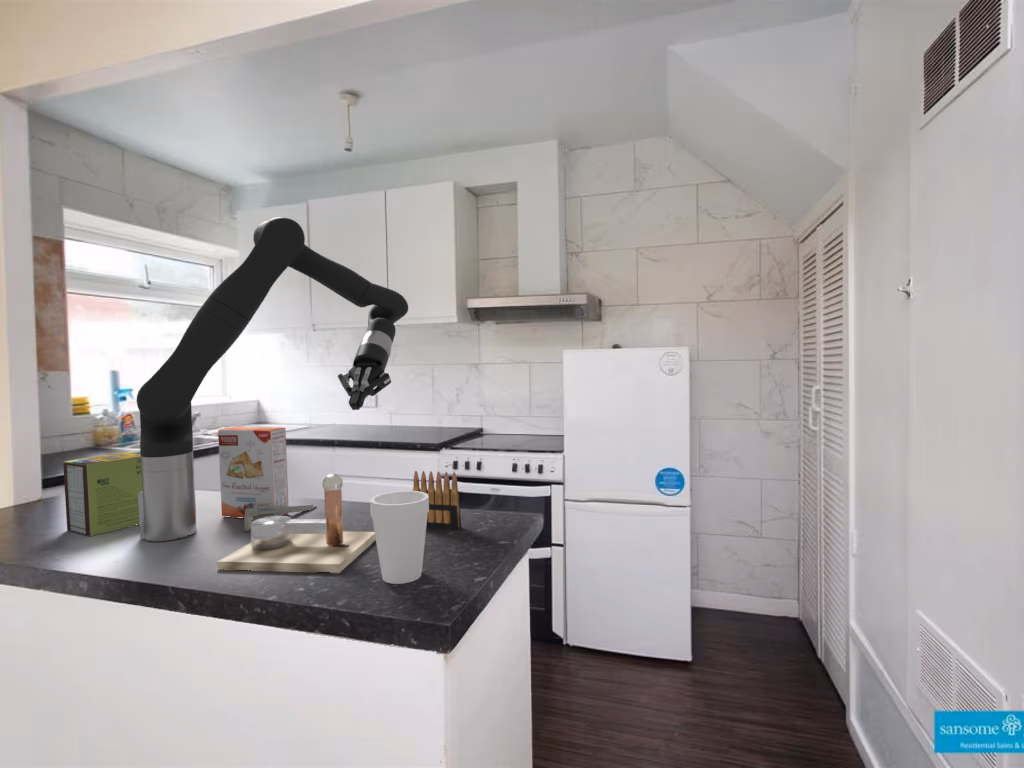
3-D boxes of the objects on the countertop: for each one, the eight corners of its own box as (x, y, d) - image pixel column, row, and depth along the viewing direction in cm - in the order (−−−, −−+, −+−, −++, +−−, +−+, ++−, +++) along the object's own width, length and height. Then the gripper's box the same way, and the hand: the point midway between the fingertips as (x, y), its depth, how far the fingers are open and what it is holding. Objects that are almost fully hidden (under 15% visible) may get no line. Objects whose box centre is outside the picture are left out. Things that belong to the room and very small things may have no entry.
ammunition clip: (411, 526, 113) (409, 471, 113) (415, 524, 115) (413, 469, 115) (458, 530, 111) (456, 473, 110) (461, 527, 112) (459, 471, 112)
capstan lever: (243, 548, 96) (240, 478, 95) (263, 536, 103) (261, 470, 102) (337, 548, 95) (334, 478, 94) (351, 536, 102) (348, 470, 101)
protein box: (166, 517, 125) (163, 452, 124) (89, 537, 111) (85, 464, 110) (141, 512, 130) (138, 449, 129) (65, 531, 116) (61, 460, 115)
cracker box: (220, 518, 123) (216, 429, 122) (238, 511, 128) (235, 425, 128) (273, 521, 119) (269, 429, 119) (289, 514, 125) (286, 426, 125)
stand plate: (217, 570, 91) (217, 560, 91) (272, 537, 108) (272, 529, 108) (339, 573, 89) (339, 563, 89) (376, 539, 106) (376, 530, 106)
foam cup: (432, 584, 83) (429, 502, 83) (371, 591, 81) (368, 507, 81) (428, 562, 93) (426, 489, 92) (374, 568, 91) (371, 492, 90)
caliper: (248, 534, 112) (247, 504, 111) (244, 533, 112) (243, 504, 112) (317, 508, 131) (316, 483, 130) (313, 508, 131) (312, 483, 131)
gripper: (342, 342, 127) (320, 396, 116) (395, 341, 126) (378, 396, 114) (352, 364, 133) (331, 418, 121) (403, 363, 131) (387, 418, 119)
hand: (354, 407), depth 117 cm, fingers closed
